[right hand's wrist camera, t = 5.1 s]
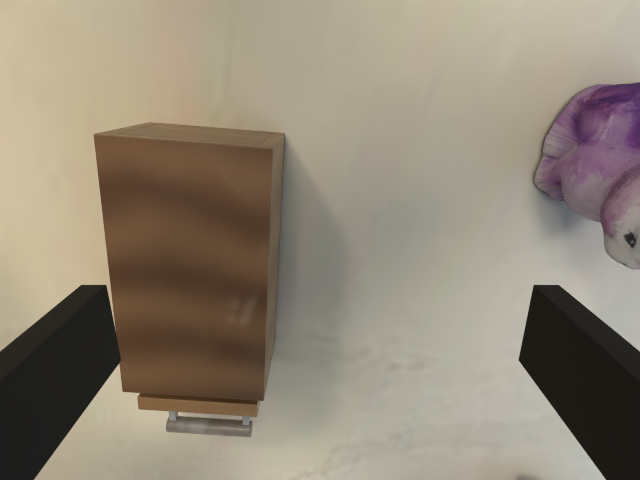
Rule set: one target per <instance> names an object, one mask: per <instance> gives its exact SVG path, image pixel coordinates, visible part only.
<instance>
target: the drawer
mask: <svg viewBox="0 0 640 480" xmlns="http://www.w3.org/2000/svg"><path fill="white" fill-rule="evenodd" d="M259 403H260V401H258V400H242V399H227V398H211V397H196V396H181V395H165V394H150V393H140V394H139V396H138V407H139V409H143V410H158V411H169V418H168V420H167V425H166V431H167V432H176V433H192V434H208V435H224V436H240V437H251V434H252V427H253V422H252V421H250V416H252V417H257V413H258V408H259ZM178 412H190V413H205V414H221V415H237V416H243V420H230V419H215V418H199V417H183V416H178Z"/></svg>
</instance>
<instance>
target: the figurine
mask: <svg viewBox="0 0 640 480" xmlns="http://www.w3.org/2000/svg"><path fill="white" fill-rule="evenodd" d="M542 153H543V157H542V159H541V162H540V164H539V166H538V169H537V170H536V173H535V177H534V182H535V184H536V186H537V187H538V188H539V189H541V190H543V191H545V193H547V194H548V195H550V197H552V198H554V199H555V200H559V201H565V202H566V203H567V205H568V206H569V207H570V208H571V209H572V210H574V211H575V212H576V213H578V214H579V215H581V216H583V217H585V218H587V219H590V220H593V221H597V222H601V224H602V227H603V232H604V245H605V250H606V252H607V254H608V255H609V256H610V257H611V258H612V259H614V260H615V261H616V262H618V263H621V264H623V265H625V266H626V267H628V268H631V269H640V83H633V84H618V85H594V86H592V87H589V88H587V89H585V90H583V91H581V92H580V93H578V94H577V95H576V96H575V97H574V98H573V99H572V100H571V101H570V102H569V104H568V105H567V106H566V108H565V109H564V110H563V112H562V113H561V114H560V116H559V117H558V118H557V120H556V121H555V122H554V124H553V125H552V127H551V129H550V130H549V132H548V134H547V136H546V137H545V140H544V146H543V152H542Z"/></svg>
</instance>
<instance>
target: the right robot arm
mask: <svg viewBox="0 0 640 480" xmlns="http://www.w3.org/2000/svg"><path fill="white" fill-rule="evenodd" d="M120 361H121V356H120V351H119V346H118V341H117V336H116V331H115V326H114V321H113V316H112V311H111V306H110V301H109V296H108V291H107V286H106V285H81V286H80V287H78V288H77V289H76V290H75V291H73V292H72V293H71V294H70V295H69V296H67V297H66V298H65V299H64V300H63V301H61V302H60V303H59V304H58V305H56V306H55V307H54V308H53V309H52V310H50V311H49V312H48V313H47V314H45V315H44V316H43V317H42V318H41V319H39V320H38V321H37V322H36V323H35V324H33V325H32V326H31V327H30V328H28V329H27V330H26V331H25V332H24V333H22V334H21V335H20V336H19V337H17V338H16V339H15V340H14V341H13V342H11V343H10V344H9V345H8V346H7V347H5V348H4V349H3V350H2V351H0V480H34V479H35V477H36V476H37V475H38V473H39V472H40V471H41V469H42V468H43V466H44V465H45V464H46V462H47V461H48V460H49V458H50V457H51V456H52V454H53V453H54V451H55V450H56V449H57V447H58V446H59V445H60V443H61V442H62V440H63V439H64V438H65V436H66V435H67V434H68V432H69V431H70V430H71V428H72V427H73V425H74V424H75V423H76V421H77V420H78V419H79V417H80V416H81V415H82V413H83V412H84V410H85V409H86V408H87V406H88V405H89V404H90V402H91V401H92V400H93V398H94V397H95V395H96V394H97V393H98V391H99V390H100V389H101V387H102V386H103V385H104V383H105V382H106V380H107V379H108V378H109V376H110V375H111V374H112V372H113V371H114V370H115V368H116V367H117V365H118V364H119V363H120ZM519 361H520V363H521V364H522V365H523V367H524V368H525V370H526V371H527V372H528V374H529V375H530V376H531V378H532V379H533V380H534V382H535V383H536V385H537V386H538V387H539V389H540V390H541V391H542V393H543V394H544V395H545V397H546V398H547V400H548V401H549V402H550V404H551V405H552V406H553V408H554V409H555V410H556V412H557V413H558V415H559V416H560V417H561V419H562V420H563V421H564V423H565V424H566V425H567V427H568V428H569V430H570V431H571V432H572V434H573V435H574V436H575V438H576V439H577V440H578V442H579V443H580V445H581V446H582V447H583V449H584V450H585V451H586V453H587V454H588V456H589V457H590V458H591V460H592V461H593V462H594V464H595V465H596V466H597V468H598V469H599V471H600V472H601V473H602V475H603V476H604V477H605V479H606V480H640V351H638V350H637V349H636V348H635V347H633V346H632V345H631V344H630V343H629V342H627V341H626V340H625V339H624V338H623V337H621V336H620V335H619V334H618V333H616V332H615V331H614V330H613V329H612V328H610V327H609V326H608V325H607V324H605V323H604V322H603V321H602V320H601V319H599V318H598V317H597V316H596V315H595V314H593V313H592V312H591V311H590V310H588V309H587V308H586V307H585V306H584V305H582V304H581V303H580V302H579V301H577V300H576V299H575V298H574V297H573V296H571V295H570V294H569V293H568V292H567V291H565V290H564V289H563V288H562V287H560V286H559V285H534V286H533V291H532V296H531V301H530V306H529V311H528V316H527V321H526V326H525V331H524V336H523V341H522V346H521V351H520V356H519Z"/></svg>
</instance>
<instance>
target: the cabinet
mask: <svg viewBox="0 0 640 480" xmlns="http://www.w3.org/2000/svg"><path fill="white" fill-rule="evenodd" d="M284 140H285V134H284V133H275V132H262V131H250V130H237V129H225V128H212V127H200V126H188V125H175V124H163V123H145V124H140V125H135V126H131V127H126V128H121V129H116V130H111V131H107V132H102V133H97V134H94V141H95V150H96V159H97V168H98V176H99V185H100V194H101V203H102V212H103V221H104V230H105V239H106V247H107V256H108V265H109V274H110V283H111V292H112V301H113V309H114V318H115V327H116V336H117V341H118V346H119V351H120V356H121V361H120V372H121V380H122V389H123V392H134V393H150V394H165V395H181V396H196V397H211V398H227V399H242V400H258V401H263V400H264V396H265V391H266V385H267V380H268V374H269V369H270V364H271V358H272V353H273V347H274V342H275V333H276V311H277V290H278V268H279V247H280V225H281V204H282V183H283V161H284Z"/></svg>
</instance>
